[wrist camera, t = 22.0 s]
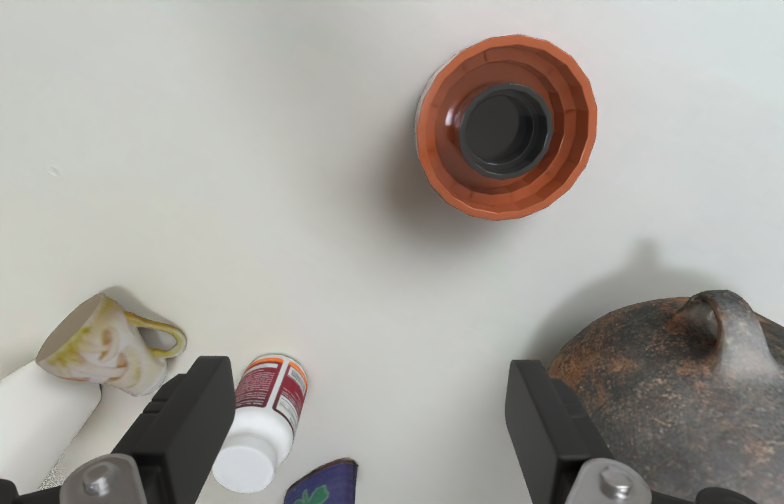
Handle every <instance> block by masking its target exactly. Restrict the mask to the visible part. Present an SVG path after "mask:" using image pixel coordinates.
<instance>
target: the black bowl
mask: <svg viewBox="0 0 784 504" xmlns="http://www.w3.org/2000/svg"><path fill="white" fill-rule="evenodd" d="M452 133H453V140H454V145H455V147H456V149H457V150H458V152H459V154H460V155H461V157H462V158H463V160H464V161H465V162H466V163H467V164H468V165H469V166H470V167H471V168H472V169H474V170H475V171H477V172H478V173H480V174H481V175H482V176H484V177H488V178H493V179H498V180H506V179H511V178H516V177H519V176H522V175H523V174H525V173H526V172H528V171H530V170H531V169H533V168H534V167H536V166H537V164H538V163H539V162H540V160H541V159H542V158H543V157H544V155H545V154H546V153H547V151H548V148H549V145H550V142H551V139H552V135H553V123H552V113H551V112H550V110H549V108H548V106H547V104H546V102H545V100H544V98H543V97H542V96H540V95H539V94H538V93H537V92H535V91H534V90H533V89H531V88H530V87H528V86H525V85H520V84H515V83H494V84H490V85H485V86H482V87H479V88H478V89H476V90H475V91H473V92H472V93H470V94H469V95H467V97H465V99H464V100H463V102H462V103H461V105H460V106H459V108H458V109H457V110H456V113H455V117H454V121H453V125H452Z"/></svg>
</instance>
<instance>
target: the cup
mask: <svg viewBox="0 0 784 504" xmlns="http://www.w3.org/2000/svg"><path fill="white" fill-rule="evenodd" d="M35 360H36V359H35ZM35 360H33V361H31V362H29V363H28V364H26V365H24V366H23V367H21V368H19V369H18V370H16V371H14V372H13V373H11V374H9V375H8V376H6V377H4V378H3V379H1V380H0V479H7V480H10V481H12V482H13V483H14V484H15V486H16V488H17V491H18V494H19V496H20V495H24V494H28V493H32V492H36V491H37V490H38V489H39V487H40V486H41V484H42V483H43V482H44V480H45V479H46V477H47V476H48V474H49V473H50V472H51V470H52V469H53V467H54V466H55V465H56V463H57V462H58V460H59V459H60V457H61V456H62V455H63V453H64V452H65V450H66V449H67V448H68V446H69V445H70V443H71V442H72V440H73V439H74V438H75V436H76V435H77V433H78V432H79V431H80V429H81V428H82V426H83V425H84V423H85V422H86V421H87V419H88V418H89V416H90V415H91V413H92V412H93V411H94V409H95V408H96V406H97V405H98V404H99V402H100V400H101V398H102V396H101V391H100V386H99V383H91V382H81V381H74V380H67V379H63V378H60V377H57V376H54V375H52V374H50V373H48V372H46V371H45V370H44V369H42V368H41V367H40V366H39V365H37V364H36V363H35Z"/></svg>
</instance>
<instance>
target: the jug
mask: <svg viewBox="0 0 784 504" xmlns="http://www.w3.org/2000/svg"><path fill="white" fill-rule="evenodd" d="M547 374H548V376H549V378H559V379H561V380H562V381H563V382H564V383H566V384H567V385H568V386H569V387H570V388H572V389H573V390H574V391H575V393H576V394H577V396H578V398H579V399H580V401H581V403H582V406H583V407H584V408H585V410H586V411H587V413H588V415H589V418H590V419H591V420H592V421H593V423H594V425H595V426H596V428H597V430H598V431H599V433H600V435H601V436H602V438H603V440H604V441H605V443H606V445H607V447H608V448H609V450H610V452H611V453H612V455H613V457H614V458H615V460H616V461H618V462H621V463H623V464H625V465H627V466H628V467H630V468H632V469H633V470H634V471H636V472H637V473H638V474H639V475H640V476H641V477H642V478H643V479H644V480H645V481H646V483H647V484H648V486H649V488H650V489H651V490H653V491H656V492H659V493H662V494H666V495H670V496H673V497H677V498H681V499H685V500H688V501H692V502H694V501H695V498H696V496H697V494H698V492H699V491H700V490H702V489H704V488H707V487H721V488H725V489H729V490H732V491H735V492H738V493H740V494H742V495H744V496H746V497H748V498H750V499H751V500H753V501H754V502H756V503H757V504H784V327H782V326H781V325H779V324H777V323H775V322H773V321H771V320H769V319H767V318H765V317H763V316H761V315H759V314H757V313H756V312H753V310H752V309H751V307H750V306H749V304H748V303H747V302H746V301H745V300H744V299H743V298H741V297H740V296H739V295H737V294H736V293H734V292H731V291H729V290H711V291H704V292H700V293H698V294H696V295H693V296H692V297H676V298H666V299H657V300H652V301H647V302H642V303H637V304H634V305H630V306H626V307H624V308H621V309H618V310H615V311H612V312H610V313H608V314H606V315H604V316H603V317H601V318H599V319H597V320H596V321H594V322H592V323H591V324H590V325H588V326H587V327H586V328H585V329H584V330H582V331H581V332H580V333H579V334H577V335H576V336H575V337H574V338H573V339H572V340H570V341H569V342H568V343H567V344H566V345H565V346H564V347H563V348H562V349H561V351H560V352H559V353H558V355H557V356H556V357H555V358H554V360H553V362H552V363H551V365H550V367H549V369H548V371H547Z"/></svg>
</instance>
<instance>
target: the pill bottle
mask: <svg viewBox="0 0 784 504" xmlns="http://www.w3.org/2000/svg"><path fill="white" fill-rule="evenodd" d="M306 391H307V377H306V374H305V372H304V370H303V369H302V367H301V366H300V365H299V364H298V363H297V362H295V361H294V360H292V359H290V358H288V357H285V356H281V355H266V356H263V357H260V358H258V359H256V360H254V361H253V362H252V363H251V364H250V365H249V366H248V367H247V369H246V371H245V372H244V374H243V377H242V379H241V381H240V383H239V385H238V387H237V389H236V391H235V398H236V411H235V417H234V421H233V424H232V426H231V428H230V430H229V432H228V434H227V436H226V439H225V441H224V443H223V445H222V447H221V449H220V451H219V453H218V456H217V458H216V460H215V462H214V464H213V466H212V473H213V475H214V477H215V479H216V480H217V481H218V483H219V484H221V485H222V486H223V487H225V488H226V489H228V490H231V491H233V492H237V493H247V494H248V493H255V492H258V491H261V490H263V489H264V488H266V487H267V486H268V485H269V484H270V483H271V481H272V479H273V477H274V474H275V471H276V468H277V466H278V465H280V464H281V463H282V462H283V461H284V460H285V459H286V458H287V456H288V454H289V452H290V450H291V447H292V444H293V440H294V436H295V432H296V429H297V425H298V421H299V418H300V414H301V410H302V406H303V403H304V399H305V395H306Z"/></svg>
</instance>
